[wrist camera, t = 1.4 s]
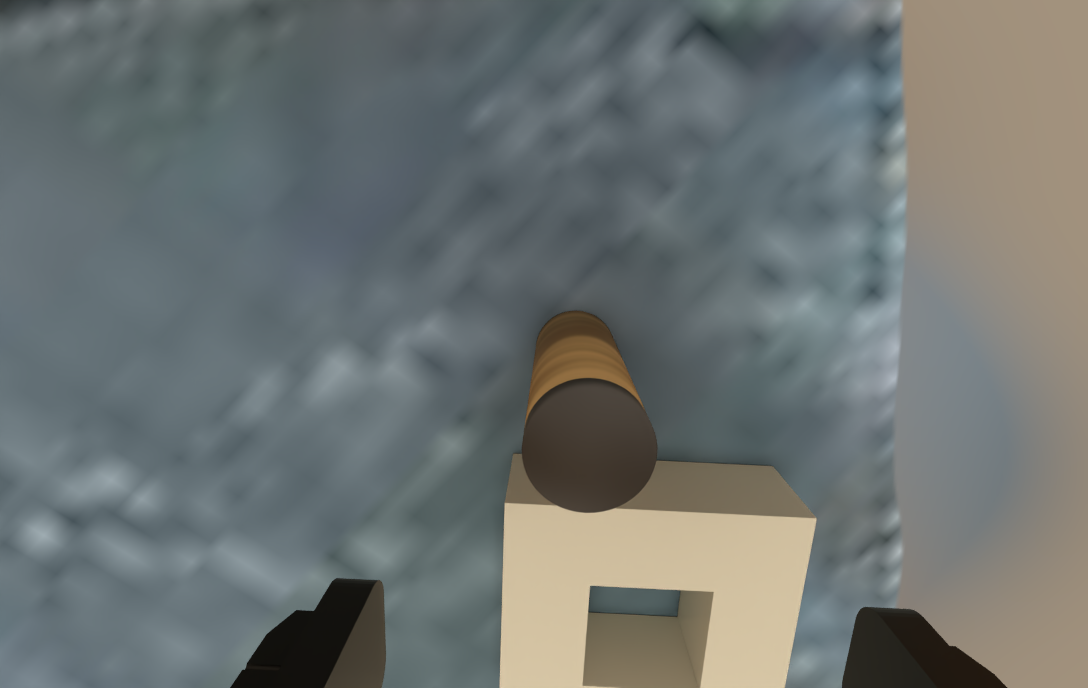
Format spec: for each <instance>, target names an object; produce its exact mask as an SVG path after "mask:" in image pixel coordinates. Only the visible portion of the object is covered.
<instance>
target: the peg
mask: <svg viewBox="0 0 1088 688" xmlns="http://www.w3.org/2000/svg"><path fill="white" fill-rule="evenodd" d="M656 459H657V440H656V436H655V432H654V430H653V427H652V425H651V423H650V420H649V418H648V416H647V414H646V411H645V409H644V407H643V405H642V402H641V400H640V398H639V395H638V393H637V391H636V389H635V386H634V384H633V382H632V380H631V377H630V375H629V373H628V371H627V368H626V366H625V364H624V362H623V359H622V357H621V355H620V353H619V350H618V348H617V346H616V344H615V341H614V339H613V337H612V335H611V332H610V330H609V329H608V327H607V326H606V325H605V323H604V322H603V321H602V320H600V319H599V318H598V317H596V316H594V315H592V314H590V313H587V312H583V311H568V312H564V313H561V314H558V315H556V316H555V317H553V318H552V319H550V320H549V321H548V322H547V323H546V324H545V325H544V327H543V328H542V330H541V331H540V333H539V336H538V339H537V343H536V350H535V357H534V365H533V372H532V379H531V386H530V393H529V400H528V407H527V414H526V421H525V428H524V436H523V443H522V460H523V465H524V468H525V471H526V474H527V476H528V478H529V480H530V482H531V483H532V485H533V486H534V488H535V489H536V490H537V491H538V492H539V493H540V494H541V495H542V496H543V497H544V498H546V499H547V500H548V501H550V502H551V503H553V504H555V505H557V506H559V507H561V508H564V509H567V510H570V511H575V512H582V513H596V512H603V511H607V510H611V509H614V508H616V507H619V506H621V505H623V504H625V503H627V502H628V501H630V500H631V499H632V498H634V497H635V496H636V495H637V494H638V493H639V492H640V491H641V490H642V489H643V488H644V487H645V485H646V484H647V482H648V481H649V479H650V477H651V475H652V473H653V471H654V468H655V465H656Z"/></svg>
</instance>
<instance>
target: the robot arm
mask: <svg viewBox="0 0 1088 688" xmlns="http://www.w3.org/2000/svg"><path fill="white" fill-rule="evenodd" d="M385 663H386V644H385V614H384V589H383V584H382V582H381V581H380V580H362V579H343V578H336V579H335V580H333V581H332V583H331V584H330V586H329V587H328V589H327V591H326V592H325V594H324V595H323V597H322V599H321V600H320V602H319V604H318V605H317V607H316V609H315V610H314V611H302V610H296V611H295V612H294V613H292V614H291V615H290V616H289V617H287V618H286V619H285V620H284V621H282V622H281V623H280V624H279V625H278V626H276V627H275V628H274V629H273V630H271V631H270V632H269V633H268V634H267V635H266V636H265V638H264V639H263V641H262V642H261V644H260V645H259V646H258V648H257V649H256V651H255V652H254V654H253V655H252V657H251V658H250V660H249V661H248V663H247V666H246V669H245V670H242V671H241V673H240V674H239V676H238V677H237V679H236V680H235V682H234V683H233V684H232V686H231V687H230V688H381V687H382V683H383V678H384V671H385ZM842 688H1007V687H1006V686H1005V685H1004V684H1003V683H1002V682H1001V681H1000V680H999V679H998V678H997V677H996V676H995V674H993V673H992V672H990V671H989V670H988V669H986V668H985V667H983V666H982V665H981V664H979V663H978V662H976V661H975V660H974V659H972V658H971V657H969V656H968V655H967V654H965V653H964V652H963V651H961V650H960V649H958V648H957V647H956V646H949V645H948V644H947V643H946V642H945V641H944V639H943V638H942V637H941V636H940V635H939V634H938V633H937V632H936V631H935V630H934V629H933V627H932V626H931V625H930V624H929V623H928V622H927V621H926V620H925V619H924V617H922V616H921V615H920V614H919V613H918V612H916V611H914V610H910V609H894V608H875V607H864V608H862V609H860V611H859V612H858V614H857V617H856V620H855V625H854V630H853V634H852V639H851V643H850V648H849V653H848V657H847V662H846V666H845V671H844V676H843V681H842Z"/></svg>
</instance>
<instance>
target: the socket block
mask: <svg viewBox="0 0 1088 688" xmlns="http://www.w3.org/2000/svg"><path fill="white" fill-rule="evenodd" d="M816 519H817V518H816V517H815V516H814V515H813V513H812V512H811V511H810V510H809V509H808V508H807V506H806V505H805V504H804V503H803V502H802V500H801V499H800V498H799V497H798V496H797V494H796V493H795V492H794V491H793V490H792V489H791V487H790V486H789V485H788V484H787V483H786V481H785V480H784V479H783V478H782V477H781V475H780V474H779V473H778V472H777V471H776V470H775V468H774V467H773V466H758V465H738V464H717V463H697V462H676V461H656V465H655V468H654V471H653V473H652V475H651V477H650V479H649V481H648V482H647V484H646V485H645V487H644V488H643V489H642V490H641V491H640V492H639V493H638V494H637V495H636V496H635V497H634V498H632V499H631V500H630V501H628V502H627V503H625V504H623V505H621V506H619V507H616V508H614V509H611V510H607V511H603V512H596V513H582V512H575V511H570V510H567V509H564V508H561V507H559V506H557V505H555V504H553V503H551V502H550V501H548V500H547V499H546V498H544V497H543V496H542V495H541V494H540V493H539V492H538V491H537V490H536V489H535V488H534V486H533V485H532V483H531V482H530V480H529V478H528V476H527V474H526V471H525V468H524V465H523V460H522V454H513V458H512V464H511V470H510V476H509V482H508V487H507V493H506V499H505V515H504V551H503V587H502V624H501V660H500V688H785V682H786V677H787V672H788V667H789V661H790V656H791V651H792V646H793V640H794V635H795V630H796V625H797V619H798V614H799V609H800V604H801V598H802V593H803V588H804V583H805V577H806V572H807V567H808V562H809V556H810V551H811V546H812V540H813V535H814V530H815V525H816ZM590 586H609V587H628V588H648V589H668V590H681V591H680V599H679V608H678V616H677V617H668V616H649V615H629V614H610V613H590V612H588V605H589V592H590Z"/></svg>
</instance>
